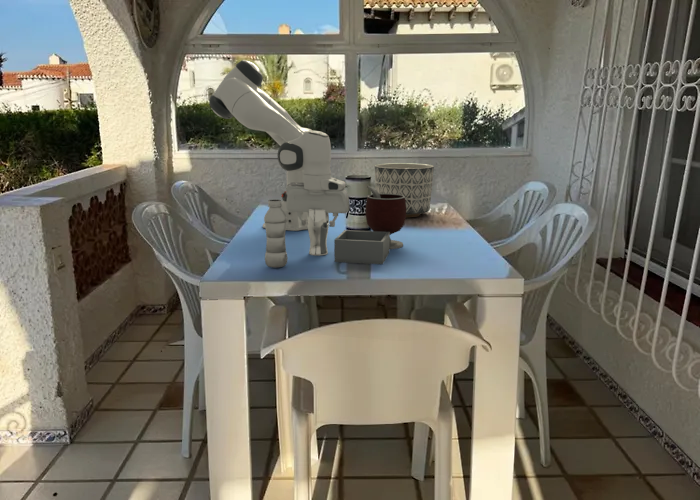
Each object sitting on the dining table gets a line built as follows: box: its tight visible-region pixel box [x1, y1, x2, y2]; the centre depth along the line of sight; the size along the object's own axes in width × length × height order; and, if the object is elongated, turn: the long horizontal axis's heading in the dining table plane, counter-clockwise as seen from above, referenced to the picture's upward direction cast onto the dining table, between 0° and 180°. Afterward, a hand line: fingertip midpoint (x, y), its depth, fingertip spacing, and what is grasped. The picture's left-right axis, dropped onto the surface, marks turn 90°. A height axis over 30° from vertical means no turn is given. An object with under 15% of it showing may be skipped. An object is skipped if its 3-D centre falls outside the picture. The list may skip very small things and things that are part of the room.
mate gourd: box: [365, 185, 407, 250], centre depth 199 cm, size 16×14×20 cm
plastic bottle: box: [263, 198, 289, 269], centre depth 170 cm, size 6×7×20 cm
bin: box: [333, 229, 391, 265], centre depth 184 cm, size 15×15×7 cm
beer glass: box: [307, 209, 330, 257], centre depth 187 cm, size 7×7×15 cm
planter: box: [374, 162, 435, 219], centre depth 258 cm, size 26×26×22 cm
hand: (317, 226), depth 187 cm, fingers open, 8 cm apart
